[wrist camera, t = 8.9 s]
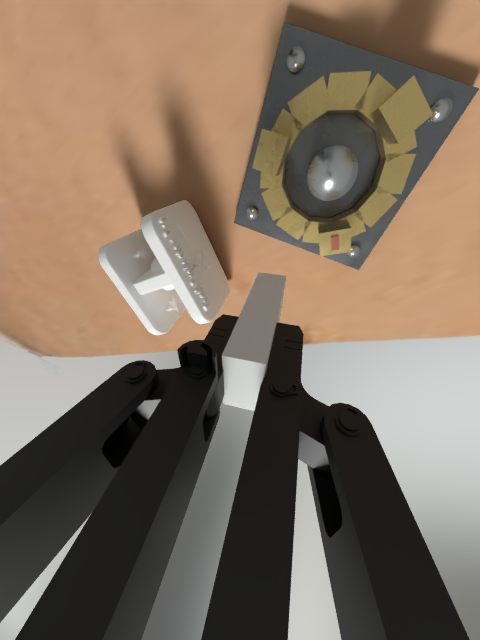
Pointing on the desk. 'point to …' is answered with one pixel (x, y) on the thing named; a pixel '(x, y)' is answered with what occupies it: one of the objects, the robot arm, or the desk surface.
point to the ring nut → (392, 138)
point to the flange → (341, 138)
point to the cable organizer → (167, 269)
